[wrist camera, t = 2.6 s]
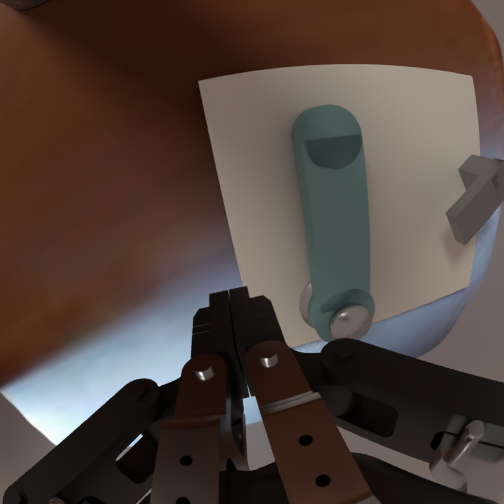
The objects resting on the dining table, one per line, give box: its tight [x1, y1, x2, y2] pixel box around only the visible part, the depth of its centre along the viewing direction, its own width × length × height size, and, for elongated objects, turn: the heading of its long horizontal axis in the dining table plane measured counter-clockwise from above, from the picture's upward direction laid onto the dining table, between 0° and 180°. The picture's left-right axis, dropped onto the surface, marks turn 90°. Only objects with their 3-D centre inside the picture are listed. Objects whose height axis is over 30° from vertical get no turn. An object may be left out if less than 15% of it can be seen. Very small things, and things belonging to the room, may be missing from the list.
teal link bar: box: [291, 104, 375, 342], centre depth 20 cm, size 18×5×2 cm, turn 11°
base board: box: [198, 64, 480, 348], centre depth 22 cm, size 22×24×2 cm
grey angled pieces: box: [299, 154, 504, 340], centre depth 21 cm, size 22×6×4 cm, turn 131°
